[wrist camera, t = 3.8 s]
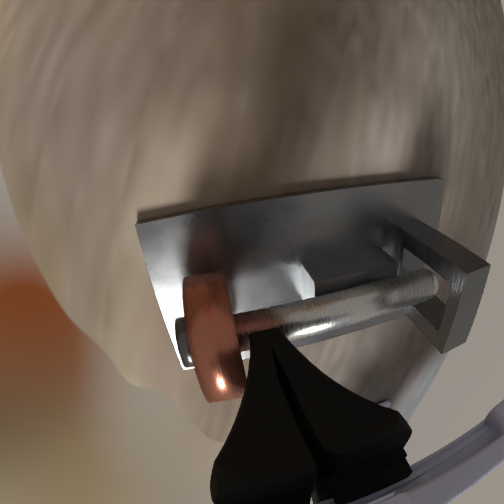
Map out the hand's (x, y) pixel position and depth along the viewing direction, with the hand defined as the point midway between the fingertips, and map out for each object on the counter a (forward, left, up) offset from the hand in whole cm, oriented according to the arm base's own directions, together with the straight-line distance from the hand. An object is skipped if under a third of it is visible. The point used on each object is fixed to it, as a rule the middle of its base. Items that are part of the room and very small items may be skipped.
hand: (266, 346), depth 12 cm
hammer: (0, -3, -4) cm, 5 cm away
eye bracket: (0, -4, -5) cm, 6 cm away
